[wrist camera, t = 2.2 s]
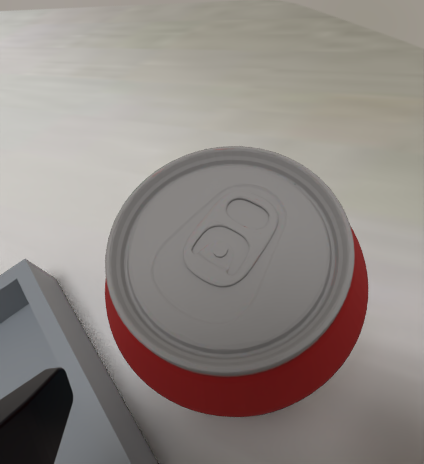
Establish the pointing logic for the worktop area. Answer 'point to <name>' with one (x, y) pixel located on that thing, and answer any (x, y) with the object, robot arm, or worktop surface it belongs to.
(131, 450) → the tray
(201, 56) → the worktop surface
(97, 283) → the worktop surface
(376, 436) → the worktop surface
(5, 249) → the worktop surface
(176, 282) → the beverage can
